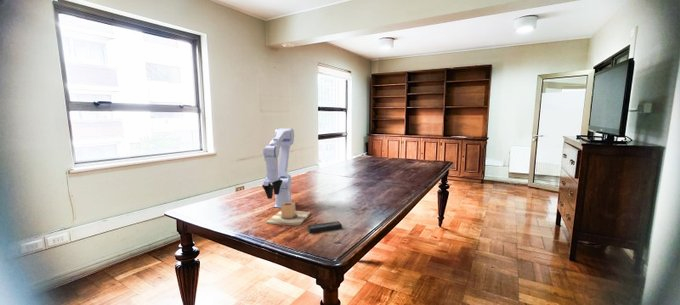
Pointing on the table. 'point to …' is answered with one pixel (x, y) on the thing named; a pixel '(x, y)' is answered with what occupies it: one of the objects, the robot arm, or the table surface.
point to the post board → (289, 219)
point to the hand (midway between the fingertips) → (273, 196)
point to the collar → (288, 210)
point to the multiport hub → (324, 227)
